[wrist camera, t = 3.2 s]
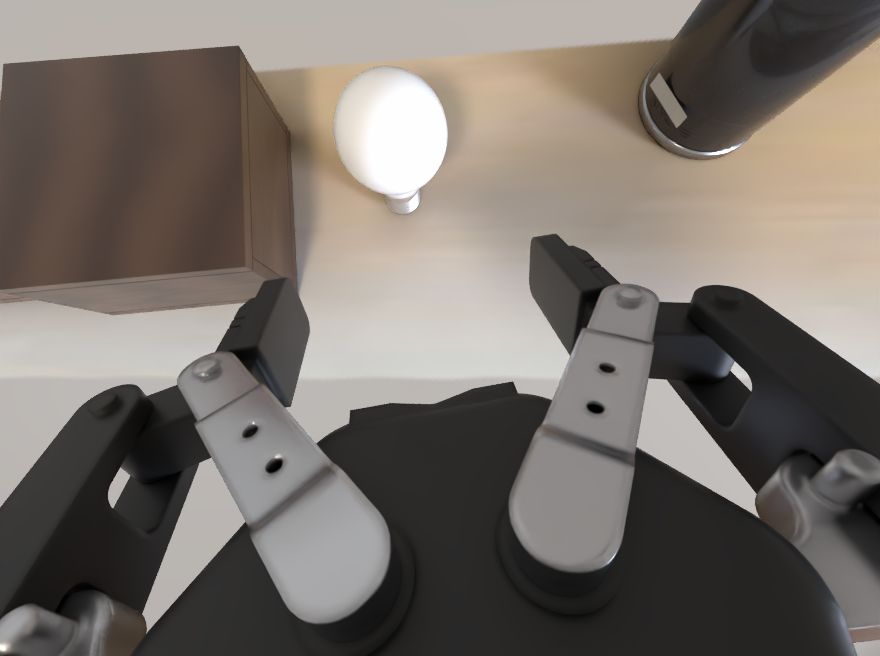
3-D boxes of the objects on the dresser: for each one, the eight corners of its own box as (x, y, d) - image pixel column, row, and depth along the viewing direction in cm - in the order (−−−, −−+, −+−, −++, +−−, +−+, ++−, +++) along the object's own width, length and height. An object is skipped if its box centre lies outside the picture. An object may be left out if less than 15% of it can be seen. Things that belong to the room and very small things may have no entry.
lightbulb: (386, 254, 28) (353, 174, 17) (348, 186, 28) (294, 66, 18) (458, 217, 28) (473, 116, 17) (420, 150, 29) (410, 13, 18)
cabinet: (113, 315, 27) (-13, 290, 19) (116, 146, 29) (3, 63, 21) (298, 297, 27) (245, 266, 20) (289, 131, 29) (238, 45, 21)
